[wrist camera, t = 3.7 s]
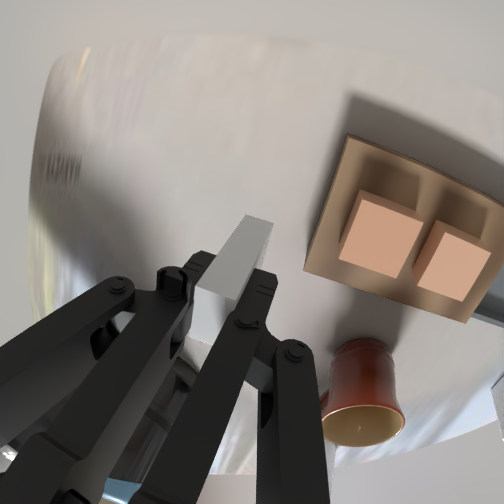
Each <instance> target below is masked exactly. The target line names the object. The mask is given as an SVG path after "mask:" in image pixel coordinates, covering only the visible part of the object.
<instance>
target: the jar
mask: <svg viewBox="0 0 504 504" xmlns="http://www.w3.org/2000/svg"><path fill="white" fill-rule="evenodd" d="M491 395H492V398H493V402H494V406H495V409H496V413H497V417H498V421H499V425H500V430H501V434H502V439H503V441H504V376H503V377H502V378H501V379H500V380H499V381H498V382H497V384H496V385H495V386H494V387H493V388H492V389H491Z"/></svg>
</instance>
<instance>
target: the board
mask: <svg viewBox="0 0 504 504" xmlns="http://www.w3.org/2000/svg"><path fill="white" fill-rule="evenodd" d="M359 189H361V190H364V191H366V192H369V193H372V194H374V195H377V196H380V197H382V198H385V199H388V200H390V201H393V202H395V203H398V204H400V205H403V206H405V207H408V208H410V209H413V210H415V211H416V212H417V213H418V215H419V216H420V218H421V220H422V221H423V225H422V228H421V230H420V232H419V234H418V236H417V238H416V240H415V242H414V245H413V247H412V249H411V251H410V253H409V255H408V257H407V259H406V261H405V263H404V265H403V266H402V268H401V270H400V272H399V274H398V276H397V278H393V277H390V276H387V275H385V274H382V273H379V272H376V271H373V270H370V269H367V268H364V267H361V266H358V265H355V264H352V263H349V262H346V261H343V260H340V259H338V254H339V242H340V239H341V237H342V234H343V232H344V229H345V226H346V224H347V221H348V219H349V216H350V214H351V211H352V208H353V206H354V203H355V200H356V198H357V195H358V192H359ZM436 219H437V220H439V221H441V222H444V223H446V224H448V225H450V226H453V227H455V228H457V229H459V230H461V231H463V232H466V233H468V234H470V235H472V236H474V237H476V238H478V239H480V240H481V241H482V242H483V243H484V245H485V246H486V247H487V248H488V250H489V251H490V252H491V254H490V256H489V258H488V260H487V261H486V263H485V265H484V267H483V269H482V270H481V272H480V274H479V276H478V277H477V279H476V281H475V282H474V284H473V286H472V287H471V289H470V290H469V292H468V294H467V295H466V297H465V298H464V300H463V301H462V302H461V301H459V300H456V299H453V298H450V297H447V296H445V295H442V294H439V293H436V292H433V291H431V290H428V289H425V288H422V287H419V286H417V284H416V281H415V279H414V276H413V273H412V270H411V269H412V268H413V266H414V264H415V262H416V260H417V258H418V256H419V254H420V252H421V250H422V248H423V246H424V244H425V242H426V240H427V238H428V236H429V234H430V232H431V230H432V227H433V225H434V223H435V221H436ZM503 264H504V204H502V203H501V202H499V201H497V200H495V199H494V198H492V197H490V196H488V195H486V194H485V193H483V192H481V191H479V190H477V189H475V188H473V187H471V186H470V185H468V184H466V183H464V182H462V181H460V180H458V179H456V178H454V177H452V176H450V175H447V174H445V173H443V172H441V171H439V170H437V169H435V168H433V167H430V166H428V165H426V164H424V163H421V162H419V161H417V160H415V159H412V158H410V157H408V156H405V155H403V154H400V153H398V152H395V151H393V150H391V149H388V148H385V147H383V146H380V145H378V144H375V143H372V142H370V141H367V140H364V139H362V138H359V137H356V136H353V135H350V134H347V135H346V139H345V142H344V145H343V148H342V151H341V155H340V158H339V161H338V164H337V167H336V170H335V173H334V176H333V179H332V182H331V185H330V188H329V191H328V194H327V197H326V200H325V203H324V206H323V209H322V212H321V215H320V218H319V220H318V223H317V226H316V229H315V232H314V235H313V237H312V240H311V243H310V246H309V249H308V251H307V254H306V259H305V264H304V269H303V271H305V272H308V273H311V274H314V275H318V276H321V277H324V278H327V279H330V280H333V281H336V282H339V283H342V284H345V285H348V286H351V287H354V288H357V289H360V290H363V291H367V292H370V293H373V294H376V295H379V296H382V297H385V298H388V299H391V300H394V301H397V302H400V303H403V304H406V305H410V306H413V307H416V308H419V309H422V310H425V311H428V312H431V313H434V314H437V315H440V316H443V317H447V318H450V319H453V320H456V321H459V322H462V323H465V324H466V322H467V321H468V319H469V318H470V317H471V315H472V314H473V312H474V311H475V309H476V308H477V306H478V305H479V303H480V302H481V300H482V299H483V297H484V296H485V294H486V292H487V291H488V289H489V288H490V286H491V284H492V283H493V281H494V279H495V278H496V276H497V274H498V273H499V271H500V269H501V267H502V266H503Z"/></svg>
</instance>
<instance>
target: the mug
mask: <svg viewBox="0 0 504 504" xmlns="http://www.w3.org/2000/svg"><path fill="white" fill-rule="evenodd" d="M319 401H320V409H321V413H322V412H323V410H324V409H325V408H326V409H325V411H324V413H323V415H322V416H321V417H322V426H323V434H324V440H327V441H329V442H331V443H334V444H336V445H340V446H347V447H365V446H372V445H376V444H380V443H383V442H385V441H388V440H390V439H392V438H393V437H395V436H396V435H397V434H399V433H400V431H401V430H402V429H403V427H404V424H405V418H404V415H403V413H402V411H401V409H400V406H399V404H398V401H397V398H396V389H395V371H394V362H393V358H392V355H391V353H390V351H389V349H388V347H387V346H386V345H385V344H383V343H381V342H380V341H377V340H374V339H357V340H353V341H350V342H348V343H346V344H344V345H343V346H341V347H340V348H339V349H338V350H337V352H336V353H335V355H334V359H333V361H332V363H331V368H330V383H329V389H328V390H327V391H326V392H325V393H324V394H323V395H322V396H321V397H320V398H319Z"/></svg>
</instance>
